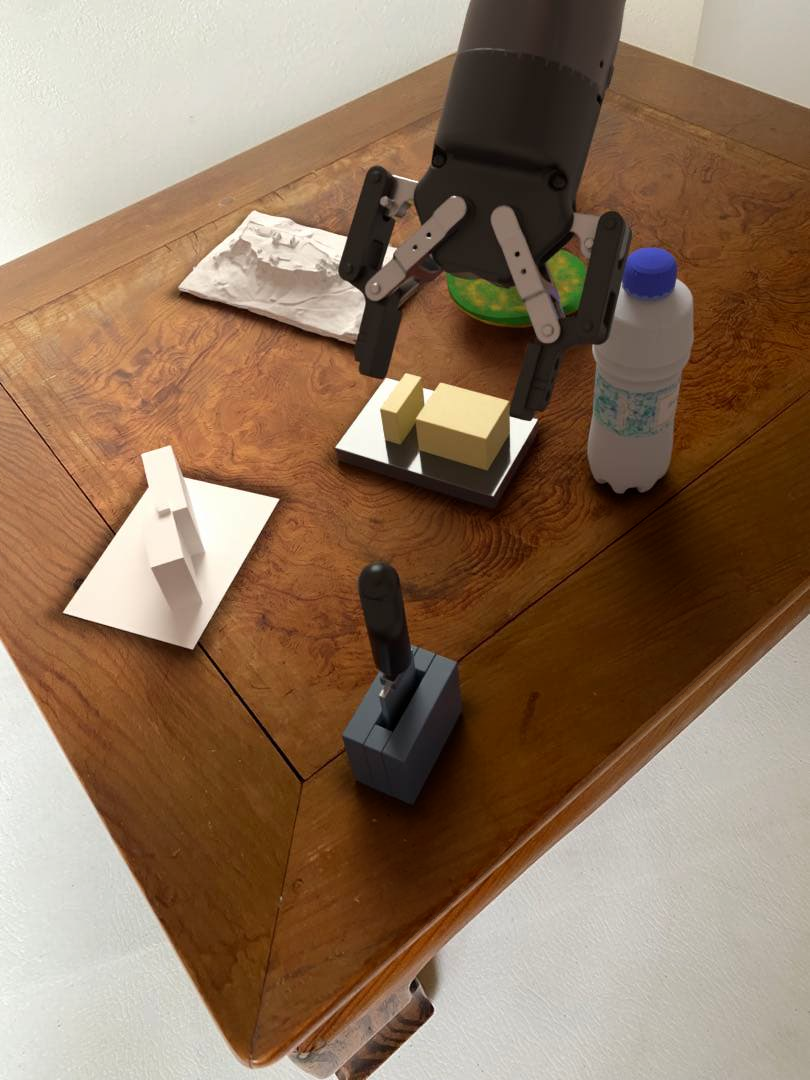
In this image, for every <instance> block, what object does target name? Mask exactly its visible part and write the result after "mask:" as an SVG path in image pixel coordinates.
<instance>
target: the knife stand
mask: <svg viewBox="0 0 810 1080" xmlns="http://www.w3.org/2000/svg"><path fill="white" fill-rule="evenodd" d="M410 645H411V649H412V650H413V657H414V663H415V669H416V675H417V681H418V688H417V690H416V692H415V694H414V695H413V697H412V699H411V701H410V703H409V704H408V706H407V708H406V710H405V712H404V713H403V715H402V717H401V719H400V721H399V722H398V724H397V726H396V728H395V730H394V731H393V732H392V731H390V730H387V729H386V726H385V721H384V717H383V713H382V708H381V704H380V699H379V694H380V692H381V691H382V689H383V687H384V685H382V684H381V682H380V678H379V677H380V675H381V674H382V672H381V671H380V670H378V673H377V675H376V676H375V678H374V680H373V681H372V683H371V684H370V686H369V688H368V690H367V691H366V694H364V697H363V698H362V700H361V702H360V704H359V705H358V707H357V708H356V710H355V712H354V713H353V715H352V717H351V718H350V720H349V722H348V724H347V725H346V727H345V729H344V730H343V732H342V734H341V738H342V741H343V742H342V743H343V745H344V749H345V751H346V755H347V758H348V761H349V762H348V763H349V765H350V768H351V771H352V775H353V779H354V781H357V782H359V783H361V784H363V785H366V786H368V787H370V788H372V789H375V790H376V791H379V792H381V793H383V794H386V795H388V796H390V797H393V798H395V799H397V800H400V801H402V802H405V803H407V804H409V805H414V804H415V802H416V800H417V798H418V796H419V794H420V793H421V790H422V788H423V787H424V786H425V783H426V781H427V780H428V777H429V775H430V773H431V771H432V770H433V768H434V766H435V764H436V762H437V760H438V758H439V756H440V754H441V753H442V751H443V748H444V747H445V745H446V742H447V741H448V739H449V737H450V735H451V733H452V731H453V729H454V728H455V725H456V724H457V722H458V719H459V718H460V715H461V713H462V711H463V702H462V694H461V684H460V674H459V672H460V671H459V664H458V662H457V661H456V660H452V659H450V658H447V657H445V656H442V655H439V654H436V653H435V652H432V651H429V650H426V649H424V648H421V647H418V646H416V645H413V644H411V643H410Z"/></svg>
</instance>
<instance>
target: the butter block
mask: <svg viewBox="0 0 810 1080" xmlns="http://www.w3.org/2000/svg"><path fill="white" fill-rule="evenodd" d="M433 391H434V392H433V394H432V395H431V397H430V398H429V400H428V401H427V403H426V404H425V406H424V407H423V409H422V410H421V411H420V413H419V414H418V416H417V417H416V419H415V420H416V429H417V437H418V445H419V450H420V451H423V452H427V453H430V454H433V455H437V456H440V457H443V458H447V459H450V460H453V461H457V462H460V463H464V464H467V465H470V466H474V467H477V468H480V469H484V470H488V469H489V467H490V466H491V464H492V462H493V461H494V459H495V457H496V455H497V454H498V452H499V450H500V449H501V447H502V445H503V444H504V442H505V440H506V439H507V437H508V435H509V434H510V415H509V410H510V406H511V403H510V400H507V399H503V398H499V397H496V396H493V395H489V394H485V393H483V392H482V393H481V392H478V391H474V390H470V389H466V388H463V387H460V386H455V385H451V384H448V383H445V382H439V383H438V385H437V386H436V388H435V389H434V390H433Z"/></svg>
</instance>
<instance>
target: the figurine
mask: <svg viewBox="0 0 810 1080" xmlns="http://www.w3.org/2000/svg"><path fill="white" fill-rule="evenodd" d="M547 264H548V267H549V269H550V272H551V275H552V277H553V280H554V283H555V285H556V288H557V291H558V293H559V297H560V303H561V306H562V309H563V311H564V314H565V316H567V315H570V314H572V313H575V312H576V311H578V308H579V304H580V300H581V295H582V291H583V286H584V282H585V277H586V273H587V268H586V264H585V263H584V262H583V261H582V260H581V259H580V258H579V257H577V256H576V255H574V254H572V253H570V252H569V251H566V250H563V249H561V250H560V251H558V252H557V253H556V254H555V255H554V256H553V257H552V258H551V259H549V260H548V261H547ZM445 273H446V274H445V275H446V276H445V277H446V285H447V292H448V295H449V298H450V300H451V301H452V302H453V304H454V305H455V306H456V307H457V308H458V309H459V310H461V311H462V312H464V313H465V314H466V315H467V316H470V317H472V318H473V319H475V320H477V321H480V322H482V323H483V324H487V325H492V326H496V327H506V328H529V327H533V325H532V322H531V319H530V317H529V314H528V311H527V309H526V306H525V304H524V302H523V301H522V299H521V297H520V295H519V293H518V291H517V288H516V286H513V287H510V289H506V288H502V287H497V286H495V285H493V284H491V283H489V282H488V281H486V280H484V279H473V280H467V279H462V278H458V277H454V276H452V275H450V274H449V273H447V272H445Z"/></svg>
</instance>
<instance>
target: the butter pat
mask: <svg viewBox="0 0 810 1080" xmlns="http://www.w3.org/2000/svg"><path fill="white" fill-rule="evenodd" d="M399 381H400V382H399V383H398V384H397V386H396V387H395V389H394V390H393V391H392V393H391V394H390V396H389V397H388V398H387V400H386V401H385V403H384V404H383V405H382V407H381V408H380V412H381V419H382V425H383V432H384V438H385V440H386V441H390V442H393V443H396V444H400V445H401V444H402V442H403V441H404V439H405V438H406V436H407V435H408V433H409V432H410V430H411V429H412V427H413V426H414V424H415V423H416V420H415V419H416V417H417V416H418V414H419V413H420V411H421V410H422V409H423V407H424V406H425V403H424V394H423V388H424V386H423V378H422V377H421V376H417V375H415V374H411V373H407V372H405V373H404V374H403V376H402V377H401V378H400V380H399Z"/></svg>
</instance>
